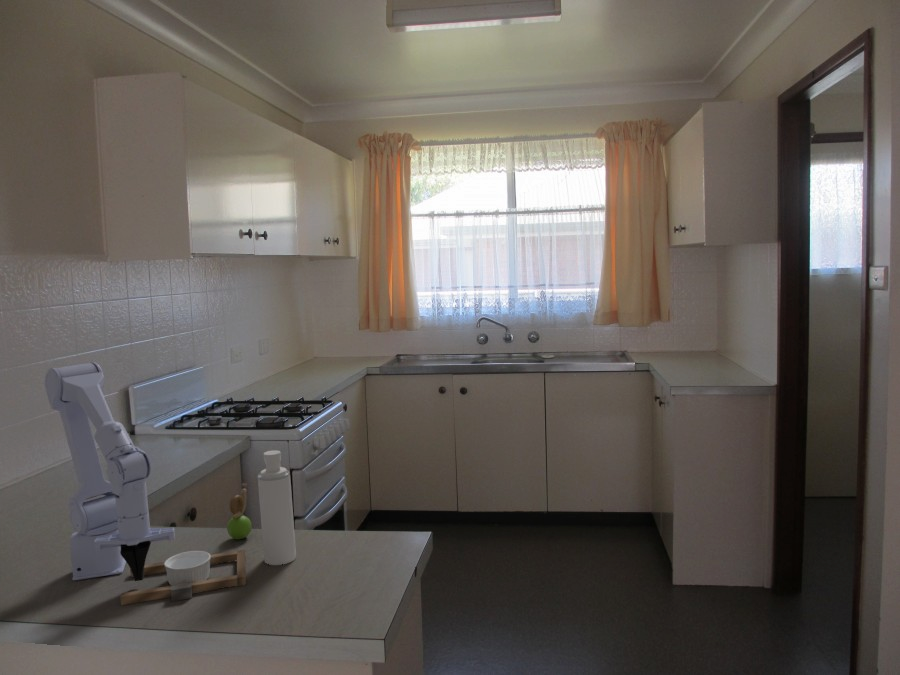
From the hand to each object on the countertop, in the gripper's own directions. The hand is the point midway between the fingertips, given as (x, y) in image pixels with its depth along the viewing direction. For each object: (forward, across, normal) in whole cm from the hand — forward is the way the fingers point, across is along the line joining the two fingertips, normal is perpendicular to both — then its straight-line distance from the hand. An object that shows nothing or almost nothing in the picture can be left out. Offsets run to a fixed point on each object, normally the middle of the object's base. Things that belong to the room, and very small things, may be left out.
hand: (139, 578), depth 144 cm
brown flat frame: (+2, +9, 0) cm, 9 cm away
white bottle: (+2, +28, +3) cm, 28 cm away
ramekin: (+2, +9, 0) cm, 10 cm away
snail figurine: (+2, +20, +19) cm, 27 cm away
